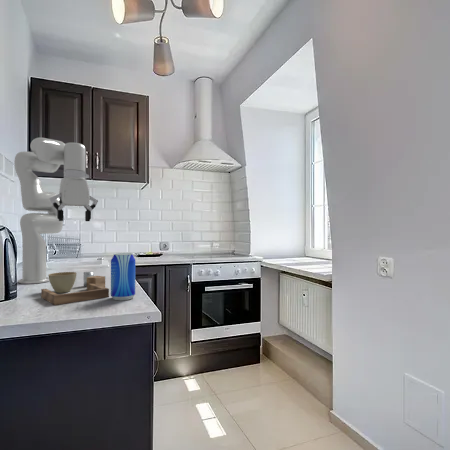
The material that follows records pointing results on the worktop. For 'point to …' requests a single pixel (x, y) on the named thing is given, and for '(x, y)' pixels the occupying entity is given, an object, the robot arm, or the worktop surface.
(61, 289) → the flower pot
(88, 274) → the grey metal cylinder
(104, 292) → the bay
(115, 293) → the beer can
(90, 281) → the walnut block
